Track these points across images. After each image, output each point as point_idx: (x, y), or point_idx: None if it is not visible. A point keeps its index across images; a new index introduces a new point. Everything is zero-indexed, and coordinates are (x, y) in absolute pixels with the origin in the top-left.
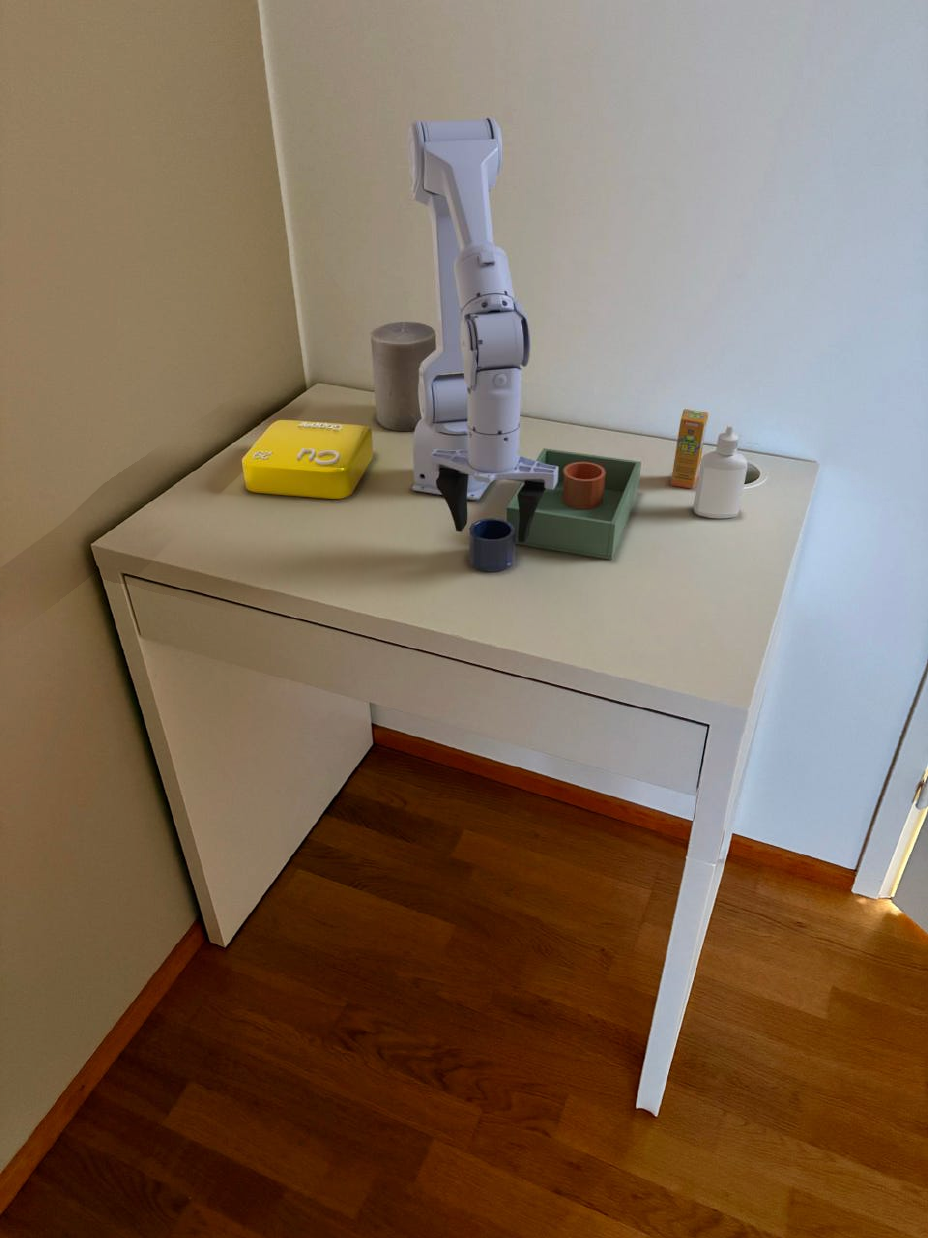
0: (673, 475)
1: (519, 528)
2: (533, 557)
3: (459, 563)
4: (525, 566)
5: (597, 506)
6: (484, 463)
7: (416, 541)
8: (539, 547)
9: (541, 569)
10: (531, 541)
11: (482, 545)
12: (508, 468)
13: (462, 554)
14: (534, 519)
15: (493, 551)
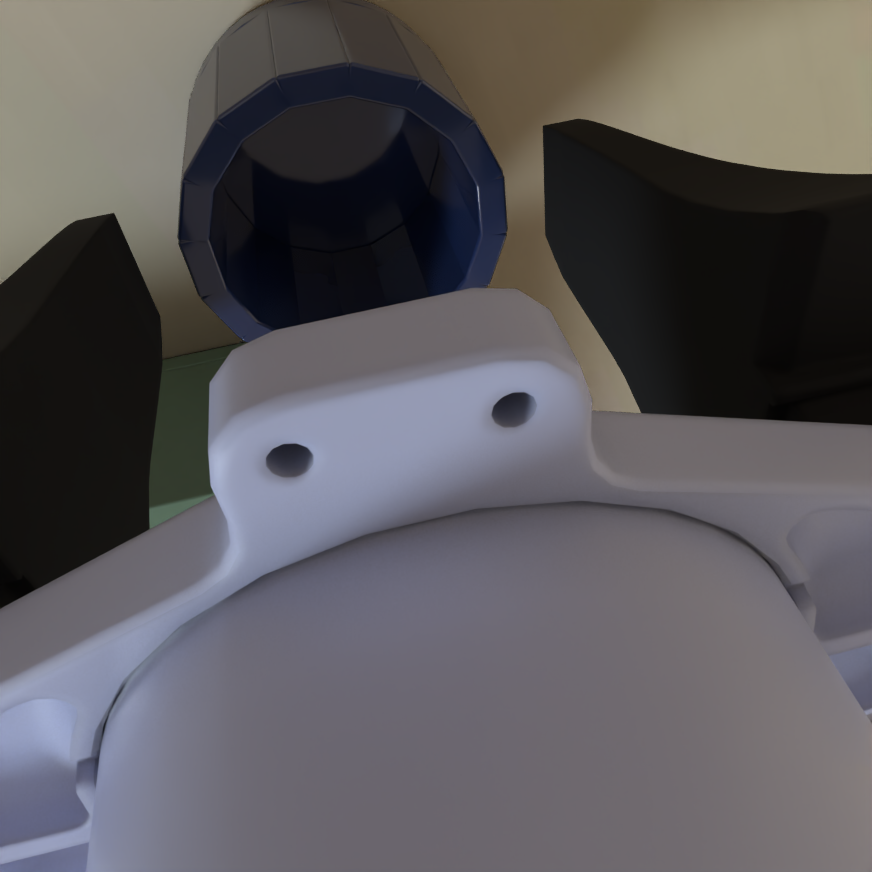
0: None
1: (75, 255)
2: (144, 274)
3: (481, 5)
4: (121, 176)
5: None
6: (479, 675)
7: (783, 101)
8: (174, 358)
9: (22, 194)
10: (217, 365)
11: (330, 51)
12: (110, 745)
13: (503, 108)
14: (203, 459)
15: (248, 66)
